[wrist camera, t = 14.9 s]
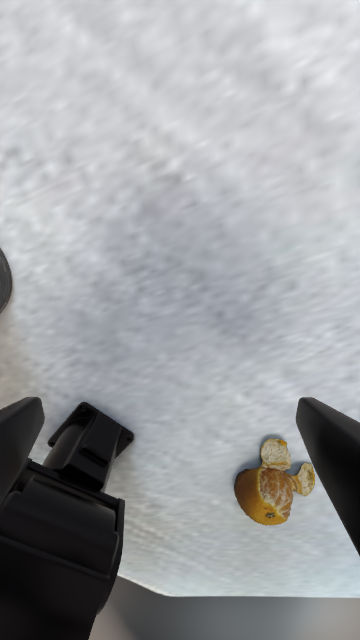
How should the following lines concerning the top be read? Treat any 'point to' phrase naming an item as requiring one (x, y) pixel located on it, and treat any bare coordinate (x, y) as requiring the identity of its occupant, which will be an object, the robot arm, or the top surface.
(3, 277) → the coaster
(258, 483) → the fruit
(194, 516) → the top surface
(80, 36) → the top surface
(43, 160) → the top surface
